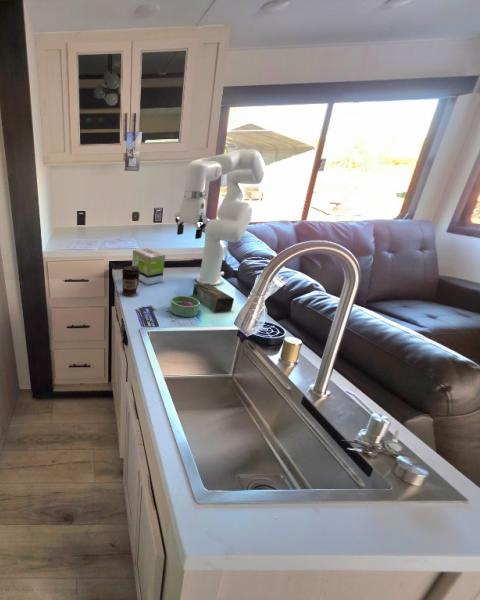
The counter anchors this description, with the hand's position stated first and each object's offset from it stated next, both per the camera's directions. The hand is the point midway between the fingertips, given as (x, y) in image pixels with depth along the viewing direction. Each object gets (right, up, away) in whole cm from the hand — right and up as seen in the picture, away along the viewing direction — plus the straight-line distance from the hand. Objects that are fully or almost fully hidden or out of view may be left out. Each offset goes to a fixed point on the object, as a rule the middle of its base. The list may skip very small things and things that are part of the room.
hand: (188, 236), depth 136 cm
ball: (-4, -31, -8) cm, 32 cm away
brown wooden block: (+10, -29, +2) cm, 31 cm away
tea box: (-12, -17, +31) cm, 37 cm away
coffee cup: (-24, -25, +12) cm, 37 cm away
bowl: (-4, -33, -6) cm, 34 cm away
